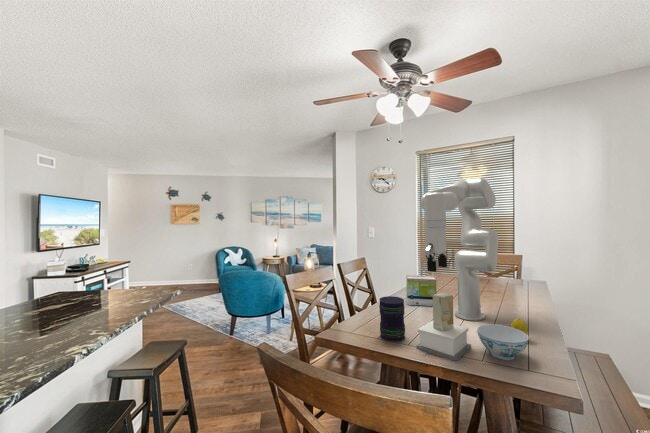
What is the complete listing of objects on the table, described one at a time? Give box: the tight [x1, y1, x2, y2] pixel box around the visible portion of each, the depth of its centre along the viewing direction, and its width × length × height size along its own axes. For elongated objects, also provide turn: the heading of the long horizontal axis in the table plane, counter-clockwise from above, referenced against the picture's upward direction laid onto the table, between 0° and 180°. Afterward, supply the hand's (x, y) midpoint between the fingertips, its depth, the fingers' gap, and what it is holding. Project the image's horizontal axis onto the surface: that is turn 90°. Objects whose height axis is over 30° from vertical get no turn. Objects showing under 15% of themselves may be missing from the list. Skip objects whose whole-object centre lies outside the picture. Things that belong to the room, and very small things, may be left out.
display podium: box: [415, 320, 472, 362], centre depth 105 cm, size 14×14×7 cm
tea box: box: [406, 274, 437, 307], centre depth 160 cm, size 15×10×15 cm, turn 77°
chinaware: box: [476, 324, 529, 361], centre depth 99 cm, size 15×15×8 cm
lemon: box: [510, 318, 529, 335], centre depth 111 cm, size 6×6×8 cm
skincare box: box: [432, 292, 455, 331], centre depth 106 cm, size 6×4×12 cm
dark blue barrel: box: [379, 295, 406, 343], centre depth 116 cm, size 10×10×15 cm
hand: (437, 269), depth 111 cm, fingers open, 9 cm apart
